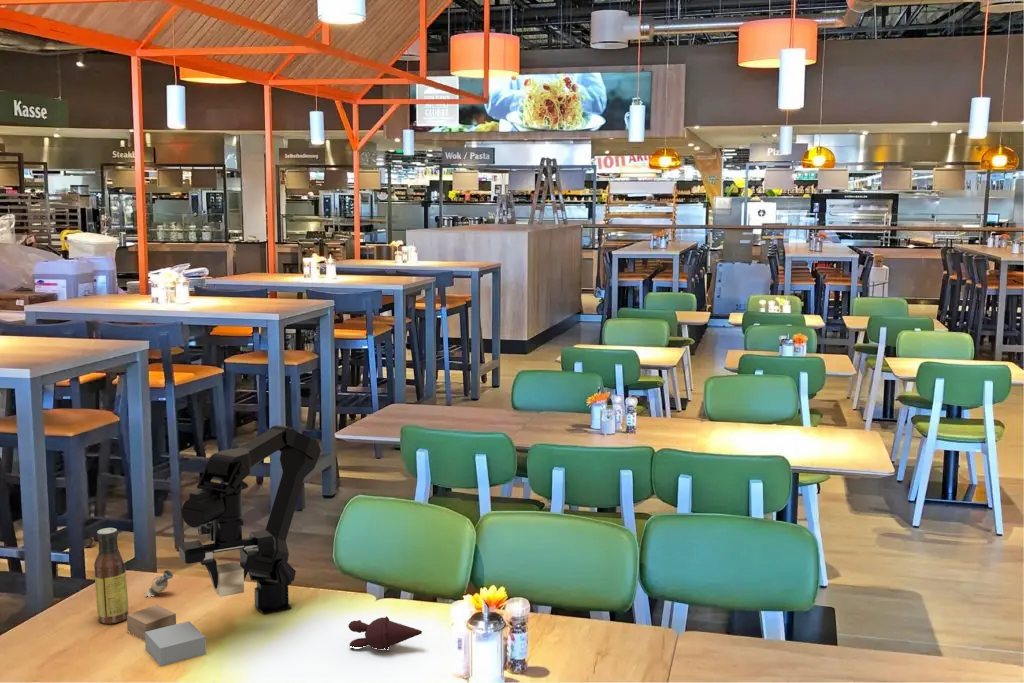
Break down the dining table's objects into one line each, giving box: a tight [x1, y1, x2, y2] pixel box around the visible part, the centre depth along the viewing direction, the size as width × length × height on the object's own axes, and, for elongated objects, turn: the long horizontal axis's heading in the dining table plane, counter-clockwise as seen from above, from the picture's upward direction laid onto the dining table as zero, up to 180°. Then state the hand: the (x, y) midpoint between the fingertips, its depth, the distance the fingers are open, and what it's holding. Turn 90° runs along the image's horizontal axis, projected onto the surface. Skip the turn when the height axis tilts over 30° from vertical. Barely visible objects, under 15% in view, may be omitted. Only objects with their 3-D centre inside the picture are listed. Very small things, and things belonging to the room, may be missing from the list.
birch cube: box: [212, 561, 245, 598], centre depth 209 cm, size 5×5×5 cm
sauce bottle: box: [93, 527, 129, 625], centre depth 214 cm, size 7×6×20 cm
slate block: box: [144, 620, 207, 667], centre depth 201 cm, size 9×9×4 cm
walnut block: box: [126, 604, 177, 641], centre depth 210 cm, size 7×7×4 cm
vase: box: [144, 569, 174, 598], centre depth 228 cm, size 5×5×6 cm
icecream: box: [347, 616, 423, 651], centre depth 204 cm, size 7×7×15 cm
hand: (228, 585), depth 209 cm, fingers closed on birch cube, 5 cm apart
